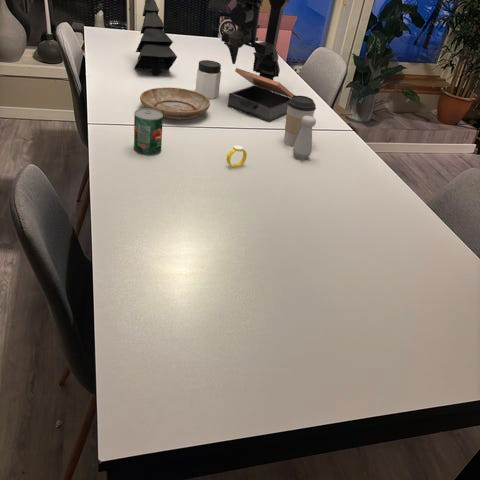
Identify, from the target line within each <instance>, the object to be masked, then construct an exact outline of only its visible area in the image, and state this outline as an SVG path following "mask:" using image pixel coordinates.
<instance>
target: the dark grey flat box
mask: <svg viewBox="0 0 480 480" xmlns="http://www.w3.org/2000/svg"><path fill="white" fill-rule="evenodd" d="M290 99H291V98H290V97H287V96H284V95H281V94H278V93H275V92H273V91H269V90H266V89H263V88H260V87H257V86H255V85H253V84H252V85H250V86H247V87H243V88H241V89H239V90H238V89H237V90H235V91H232V92H229V93H228V99H227V100H228V101H227V108H230V109H232V108H233V110H236V111H238V112H240V111H241V113H243V114H246V115H248V116H251V117H254V118H255V119H259V120H261V121H264V122H266V123H271V122H272V121H275V120H277V119H280V118H281V117H283V116H286V114H287V109H288V104H287V103H288V102H289V100H290Z"/></svg>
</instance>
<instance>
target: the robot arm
mask: <svg viewBox="0 0 480 480" xmlns="http://www.w3.org/2000/svg"><path fill="white" fill-rule="evenodd" d="M236 2H237V3H236V6H235V7H233V8H232V10H231V11H230V14H229V18H230V22H231V23H232V24H233V25H235V26H236V27H237V29H235V30H234V31H233V30H232V31H231V30H230V31H225V32H222V35H221V39H220V40H221V42H223V44H224V45H226V47H227V48H228V50H229V55H230V59H231V63H232V65H235V64H236V61H237V58H238V53H239V49H240V48H243V46H247V47H251V48H252V49H254V51H255V52H253V55H254V59H253V67H252V71H253V72H255V74H256V73H258V74H259V76H262V77H265V78H268V79H271V80H273V81H274V79H275V78H278V77H279V74H280V71H281V69H280V64H279V55H278V51H277V44H278V39H279V34H280V29H281V28H280V27H281V24H282V19H283V13H284V10H285V8H286V6H287V5H288V4H289V2H290V0H268V2H269V6H270V11H269V17H268V20H267V21H268V22H267V27H266V33H265V38H264V41H260V42H257V41H259V37H257V34H258V29H260V27H261V25H260V24H259V20H260V19H259V18H260V14H261V13H260V11H261V7H262V6H263V2H264V0H236ZM257 87H258V86H257ZM260 88H261V87H260ZM263 89H264V88H263ZM266 90H267V89H266ZM269 91H270V90H269Z"/></svg>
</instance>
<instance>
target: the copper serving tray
mask: <svg viewBox="0 0 480 480" xmlns="http://www.w3.org/2000/svg"><path fill="white" fill-rule="evenodd" d="M234 72H236V73H237V74H238V75H239V76H241V77H242V78H244V79H245V80H246V81H248V82H249V83H251V84H252V86H253V85H255V86H258V87H261V88H264V89H267V90H270V91H272V92H275V93H277V94H280V95H283V96H286V97H289V98H292V97H293V95H295V94H293V92H292V91H290V90H289V89H288V88H287V87H285V86H284V85H283V84H282V83H280V82H279V81H276V80H274V79H273V80H271V79H268V78H265V77H262V76H259V75H260V74H259V75H258V74H256V73H253V72H249V71H248V70H247V71H246V70H244V69H240V68H237V67H236V68H235V69H234Z"/></svg>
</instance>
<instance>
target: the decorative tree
mask: <svg viewBox="0 0 480 480" xmlns="http://www.w3.org/2000/svg"><path fill="white" fill-rule="evenodd" d="M159 13H160V9H159V6H158V4H157V2H156V0H144V7H143V12H142V17H144V18H143V22H142V26H141V30H140V34H142V36H141V38H140V41H139V43H138V46H137V48H136V50H135V53H139V55H138V56H137V62H136V64H135V65H134V68H133V69H134V70H135V69H137V70H151V74H152V75H154V76H159V75H161V74H162V70H163V71H164V70H166V71H169V70H170V69H171V68H172V66H173V64H174V63H175V61H176V60H177V58H178V56H177V54H176V53H175V52H174V51H173V50H172V47H171V45H172V44H173V43H174V41H173V40H172V39H171V38H170V37H169V36H168V34H167V33H166V32H165V31H164V29H165V24H164V22H163V20H162V19H161V17H160V16H159Z"/></svg>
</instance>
